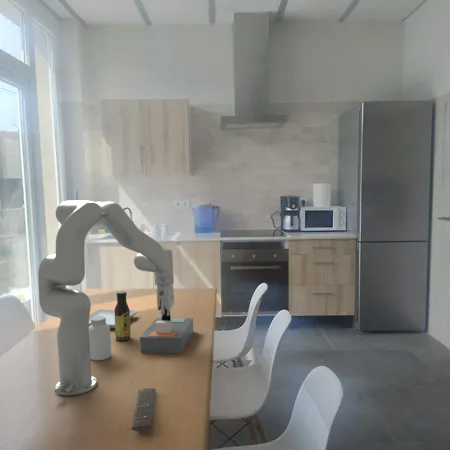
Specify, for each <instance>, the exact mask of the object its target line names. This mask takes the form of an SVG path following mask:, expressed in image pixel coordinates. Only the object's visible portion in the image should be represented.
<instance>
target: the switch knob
mask: <svg viewBox="0 0 450 450" xmlns="http://www.w3.org/2000/svg"><path fill="white" fill-rule="evenodd" d="M155 327H156V333H171V332H172V331H173V329H172V321H157V322H156V323H155Z"/></svg>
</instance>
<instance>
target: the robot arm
mask: <svg viewBox="0 0 450 450" xmlns="http://www.w3.org/2000/svg"><path fill="white" fill-rule="evenodd" d="M55 217H56V219H57V221H58V222H59V223H60V224H61V225H60V228H58V231H57V233H56V239H55V253H51V254H48V255H46V256H45V257H44V258H43V259H42V261H40V264H39V266H38V272H37V274H38V276H37V278H38V298H39V299H38V302H39V307H40V309H41V310H42V313H45V314H46V315H48V316H51V317H55V318H58V319H60V322H59V325H58V329H57V333H56V337H57V338H56V339H57V352H58V365H59V366H58V367H59V368H58V370H59V381H58V382H57V383H56V385H55V386H54V393H55V395H59V396H79V395H82V394H86V393H88V392H90V391H91V390H93V389H94V388H95V387H96V386H97V385H98V380H97V378H96V377H95V376H93V375H92V364H91V363H92V362H91V360H92V359H90V341H89V315H90V314H91V307H92V304H91V300H90V298H89V296H88V295H87V294H86V293H85V292H83V291H81V290H79V289H72V288H70V287H73V286H74V287H75V286H77V285H78V286H79V285H80V284H81V283H83V281H84V279H85V275H86V274H85V273H86V264H85V263H86V261H85V241H86V238H87V236H88V233H89V232H90V230H91V229H92V228H93V227H94V226H95V227H104V228H105V229H106V230H107V231H108V232H109V233H110V234H111V236H112V237H113V238H114V239H115V240H116V241H117V243H118V244H119V245H120V246H122V247H124V248H125V249H128V250H130V251H133V252H136V253H137V254H136V255H135V257H134V259H133V264H134V266H135V268H136V269H137V270H138V271H139V270H140V271H141V272H150V273H154V274H153V275H154V285H155V286H156V304H157V305H156V306H157V307H156V308H157V310H158V311H160V315H161V318H162V321H171V318H172V317H171V309H172V308H173V307H174V305H175V292H174V284H175V278H174V263H173V262H174V260H173V259H174V257H173V250H172V249H169V248H164V247H163V246H162V245H161V244H160V243H159V242H157V240H155V239H154V238H152V237H151V236H150V235H148V234H146V233H145V232H144V231H142V230H140V229H139V228H138V227H137V225H136V224H135V223H134V222H133V220H132V219H131V217H130V216H129V215H128V214H127V212H126V211H125V210H124V208H123V207H122V206H121V205H120V204H119V203H116V202H114V201H92V200H64V201H62V202H61V203H59V204H58V205H57V207H56V210H55ZM67 286H68V288H67ZM69 286H70V287H69Z"/></svg>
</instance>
